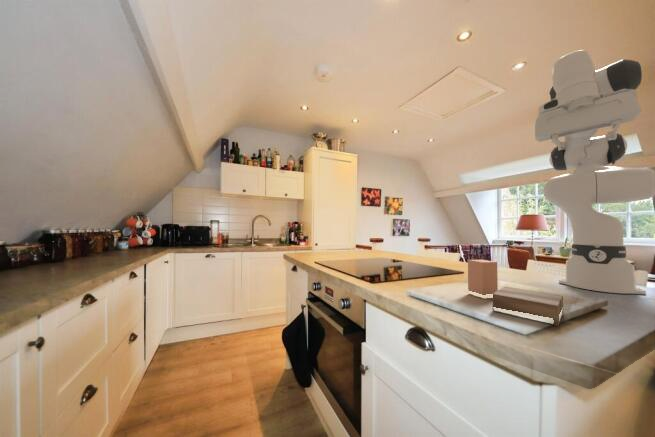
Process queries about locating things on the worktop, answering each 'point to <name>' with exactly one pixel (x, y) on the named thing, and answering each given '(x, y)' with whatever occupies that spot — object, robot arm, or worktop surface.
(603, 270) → the robot arm
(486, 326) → the worktop surface
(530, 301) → the walnut base
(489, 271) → the terracotta block
